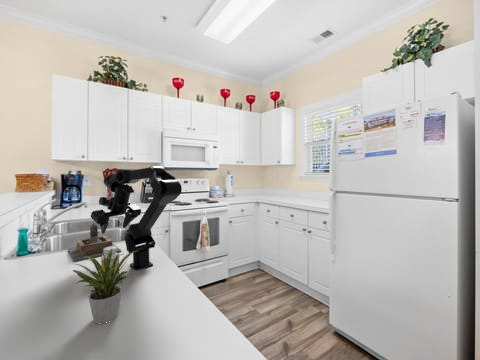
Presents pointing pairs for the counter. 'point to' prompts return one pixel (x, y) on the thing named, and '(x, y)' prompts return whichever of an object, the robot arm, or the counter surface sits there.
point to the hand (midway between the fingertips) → (113, 230)
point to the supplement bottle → (114, 253)
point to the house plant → (104, 288)
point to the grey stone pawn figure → (94, 234)
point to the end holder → (90, 248)
